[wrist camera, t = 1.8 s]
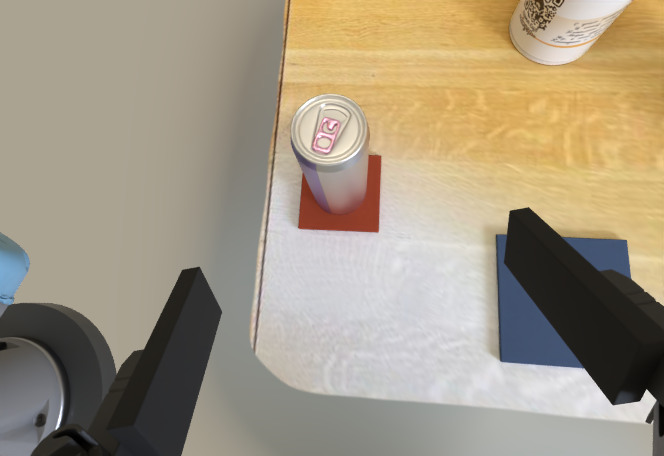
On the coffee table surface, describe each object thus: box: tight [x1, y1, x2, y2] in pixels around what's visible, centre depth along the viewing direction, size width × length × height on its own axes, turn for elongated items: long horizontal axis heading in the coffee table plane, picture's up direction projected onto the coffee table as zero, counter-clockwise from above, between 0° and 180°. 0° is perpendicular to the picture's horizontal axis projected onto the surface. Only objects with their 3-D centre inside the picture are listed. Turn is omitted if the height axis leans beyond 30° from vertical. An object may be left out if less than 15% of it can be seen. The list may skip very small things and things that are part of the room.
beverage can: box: [291, 94, 370, 215], centre depth 32 cm, size 6×6×15 cm
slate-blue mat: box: [496, 235, 631, 368], centre depth 36 cm, size 13×13×1 cm
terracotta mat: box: [298, 155, 381, 232], centre depth 40 cm, size 9×9×1 cm
